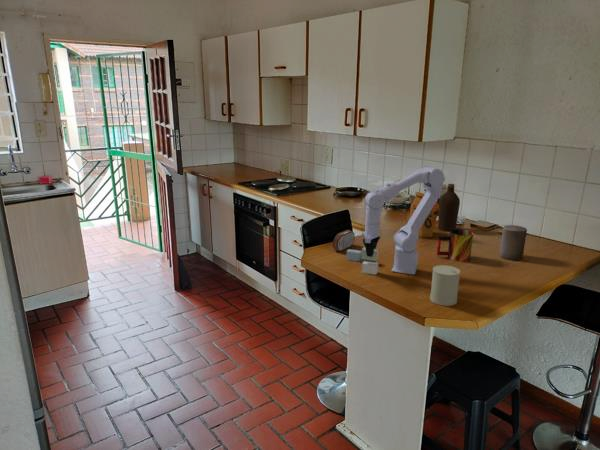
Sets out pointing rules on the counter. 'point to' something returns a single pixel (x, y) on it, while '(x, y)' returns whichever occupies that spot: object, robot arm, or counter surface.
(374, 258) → the sage brick
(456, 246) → the mug
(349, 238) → the tin
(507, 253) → the pillar candle
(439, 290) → the can
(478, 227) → the counter surface
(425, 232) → the coffee package
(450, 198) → the olive oil
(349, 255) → the blue brick
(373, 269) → the grey brick
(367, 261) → the charcoal brick
